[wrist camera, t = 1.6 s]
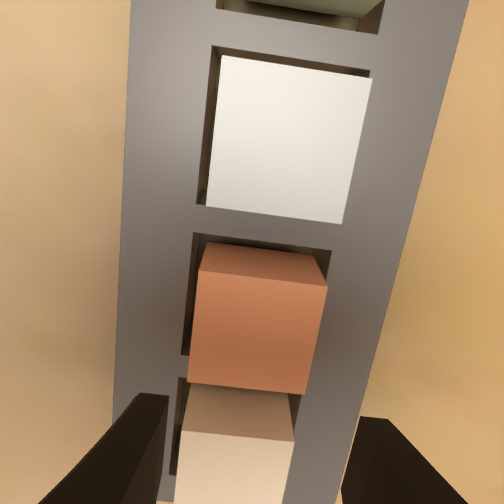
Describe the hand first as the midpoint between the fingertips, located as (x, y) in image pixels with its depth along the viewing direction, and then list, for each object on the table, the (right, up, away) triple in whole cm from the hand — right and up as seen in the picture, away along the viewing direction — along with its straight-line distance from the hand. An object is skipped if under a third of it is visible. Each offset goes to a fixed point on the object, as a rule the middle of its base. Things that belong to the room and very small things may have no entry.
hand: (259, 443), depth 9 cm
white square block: (+1, +8, +5) cm, 10 cm away
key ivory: (-1, -3, +9) cm, 10 cm away
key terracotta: (0, +2, +7) cm, 8 cm away
